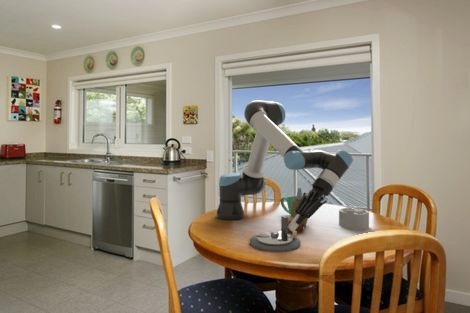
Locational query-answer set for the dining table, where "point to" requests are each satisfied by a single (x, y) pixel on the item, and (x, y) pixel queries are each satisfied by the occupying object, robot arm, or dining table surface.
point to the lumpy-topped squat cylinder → (354, 218)
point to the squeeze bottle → (295, 204)
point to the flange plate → (270, 242)
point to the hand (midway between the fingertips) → (290, 229)
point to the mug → (289, 203)
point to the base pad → (271, 248)
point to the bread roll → (298, 229)
